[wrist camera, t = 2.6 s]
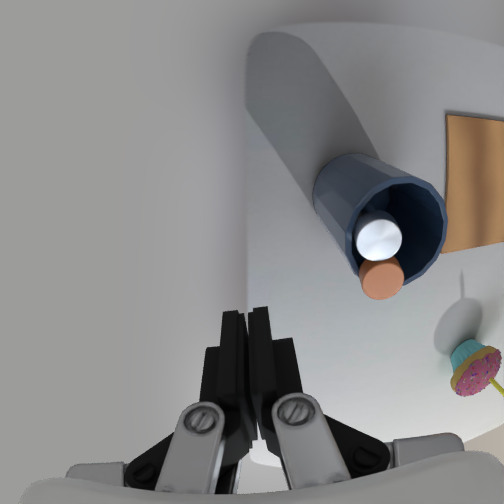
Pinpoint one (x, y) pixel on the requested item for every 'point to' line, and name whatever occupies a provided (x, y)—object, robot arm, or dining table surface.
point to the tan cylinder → (381, 277)
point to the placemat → (474, 183)
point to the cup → (385, 199)
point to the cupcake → (474, 368)
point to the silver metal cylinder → (377, 234)
